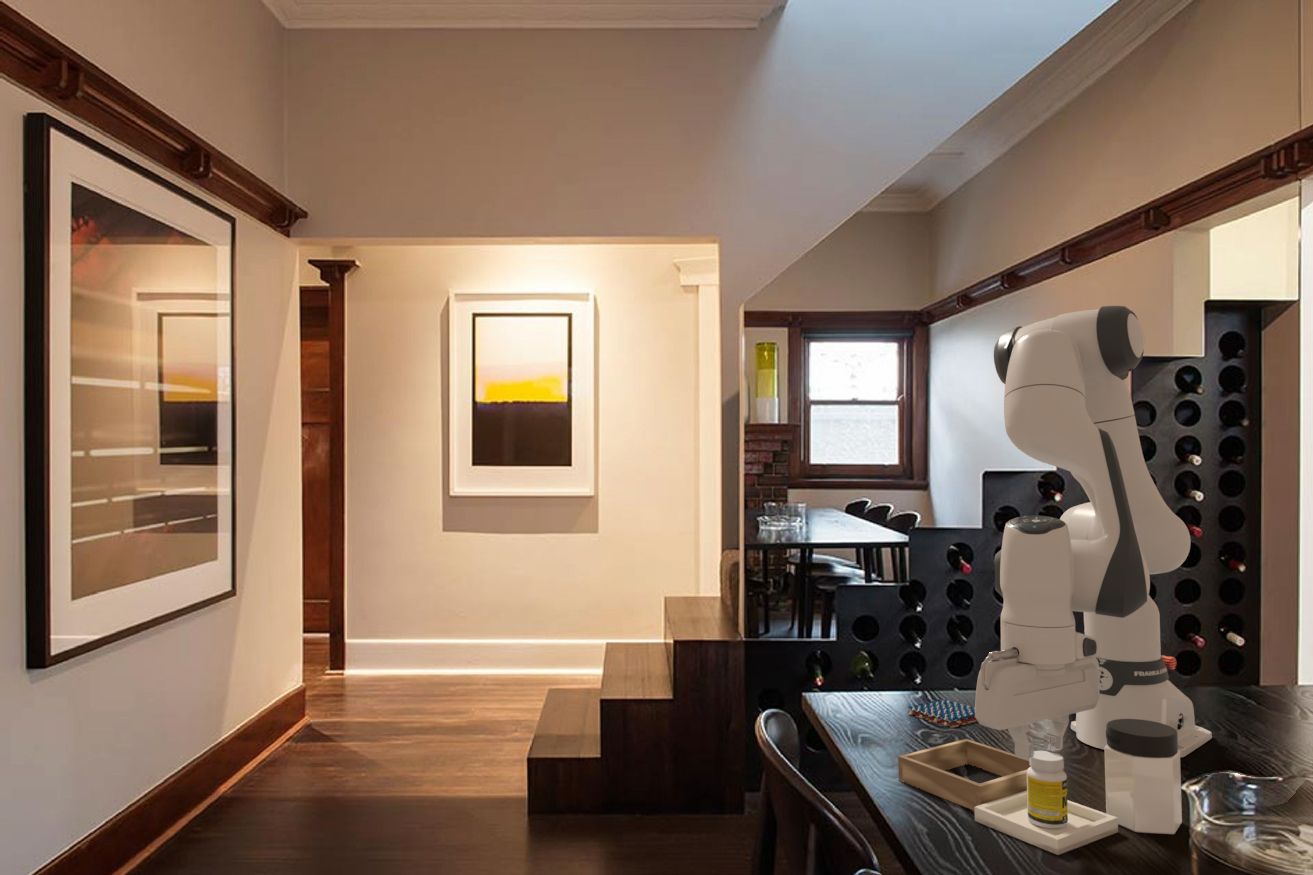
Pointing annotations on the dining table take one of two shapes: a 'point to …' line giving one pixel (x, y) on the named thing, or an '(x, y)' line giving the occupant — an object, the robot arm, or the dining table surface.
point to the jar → (1143, 775)
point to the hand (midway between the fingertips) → (1039, 753)
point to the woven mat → (945, 713)
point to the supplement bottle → (1047, 790)
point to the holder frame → (932, 777)
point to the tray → (1077, 832)
